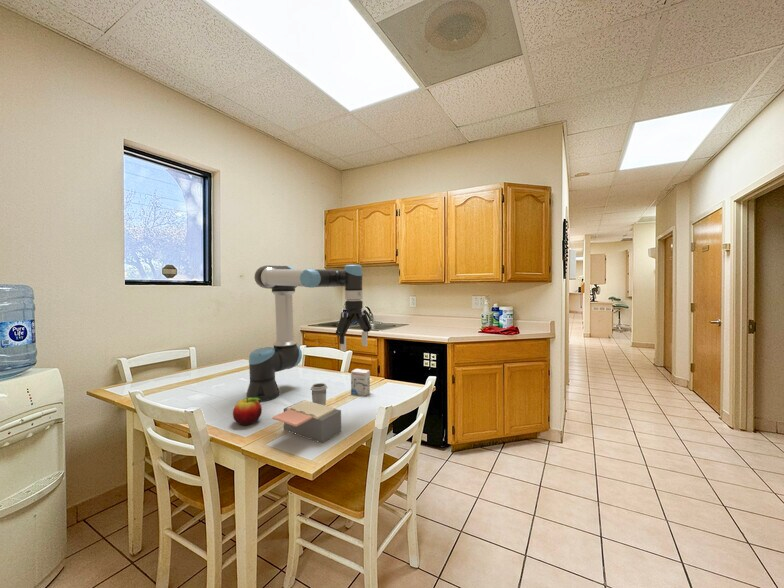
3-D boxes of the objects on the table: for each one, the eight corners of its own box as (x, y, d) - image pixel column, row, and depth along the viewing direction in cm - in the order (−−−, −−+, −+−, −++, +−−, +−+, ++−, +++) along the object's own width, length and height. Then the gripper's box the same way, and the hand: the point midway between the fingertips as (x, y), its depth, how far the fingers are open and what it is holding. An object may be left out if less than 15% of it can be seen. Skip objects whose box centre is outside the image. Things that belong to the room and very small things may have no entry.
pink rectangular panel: (272, 418, 116) (272, 416, 116) (289, 411, 122) (289, 409, 122) (296, 426, 109) (296, 424, 109) (312, 418, 116) (312, 416, 116)
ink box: (350, 394, 164) (350, 370, 163) (355, 390, 168) (355, 368, 168) (365, 396, 161) (365, 372, 160) (370, 393, 165) (370, 370, 165)
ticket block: (284, 429, 125) (283, 406, 125) (303, 420, 134) (303, 398, 133) (322, 443, 115) (322, 417, 114) (341, 431, 123) (340, 408, 123)
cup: (312, 416, 137) (311, 388, 136) (309, 411, 143) (309, 384, 142) (329, 414, 140) (328, 386, 139) (325, 408, 146) (325, 381, 145)
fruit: (241, 416, 138) (240, 393, 137) (266, 416, 137) (266, 393, 137) (227, 428, 127) (226, 402, 126) (255, 428, 127) (254, 403, 126)
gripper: (339, 302, 130) (339, 354, 131) (378, 299, 150) (378, 344, 151) (326, 301, 135) (327, 352, 136) (366, 298, 155) (366, 342, 156)
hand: (354, 348), depth 143 cm, fingers open, 13 cm apart
